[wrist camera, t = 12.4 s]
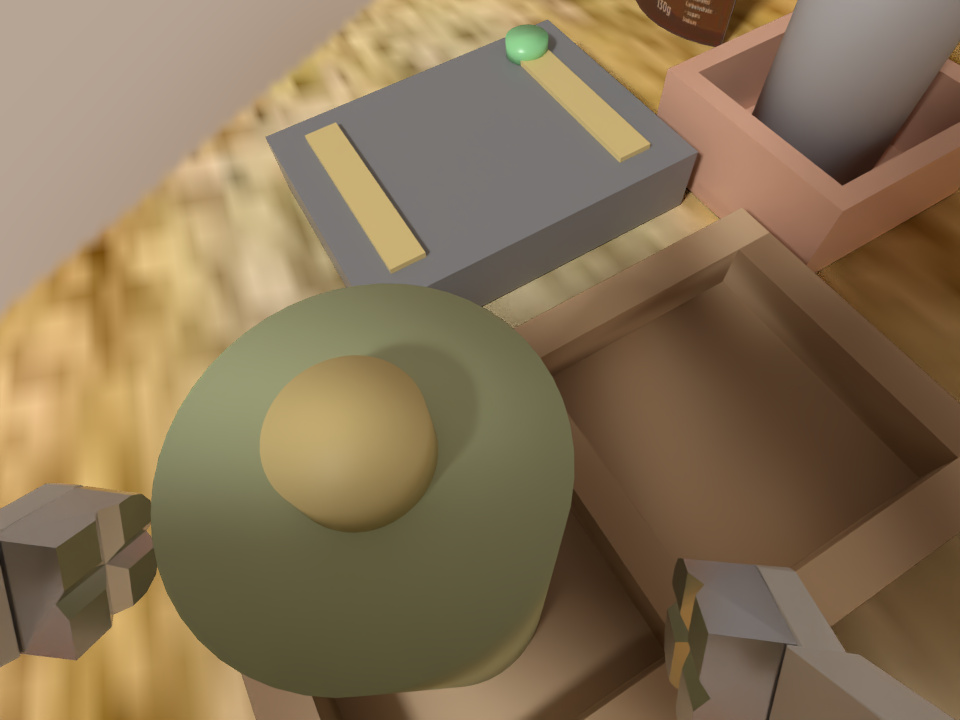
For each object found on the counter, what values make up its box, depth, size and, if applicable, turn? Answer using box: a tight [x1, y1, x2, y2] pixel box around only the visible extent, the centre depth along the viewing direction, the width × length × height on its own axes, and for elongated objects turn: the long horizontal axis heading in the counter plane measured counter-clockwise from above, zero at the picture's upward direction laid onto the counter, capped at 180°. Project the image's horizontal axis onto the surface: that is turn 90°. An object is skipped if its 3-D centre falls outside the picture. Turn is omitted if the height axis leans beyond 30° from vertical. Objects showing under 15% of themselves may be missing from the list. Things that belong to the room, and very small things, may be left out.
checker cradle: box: [266, 20, 698, 307], centre depth 21 cm, size 12×9×3 cm
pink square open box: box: [657, 12, 960, 273], centre depth 20 cm, size 8×8×4 cm
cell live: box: [151, 283, 574, 698], centre depth 10 cm, size 4×4×11 cm
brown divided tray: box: [241, 208, 960, 720], centre depth 15 cm, size 18×10×2 cm, turn 120°
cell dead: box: [752, 0, 960, 186], centre depth 17 cm, size 4×4×11 cm
